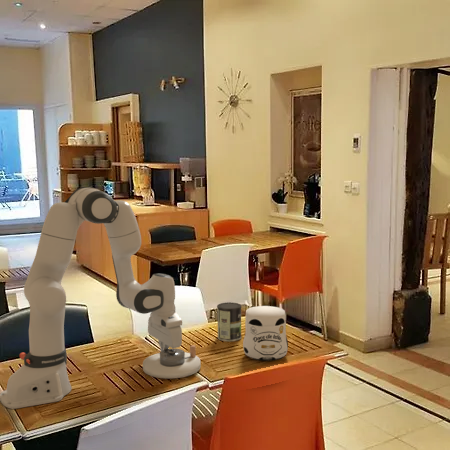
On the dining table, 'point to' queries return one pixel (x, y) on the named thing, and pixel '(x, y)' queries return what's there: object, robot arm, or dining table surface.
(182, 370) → the crank wheel
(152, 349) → the dining table surface
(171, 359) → the iron cover
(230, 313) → the coffee can
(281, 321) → the milk container
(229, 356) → the dining table surface
